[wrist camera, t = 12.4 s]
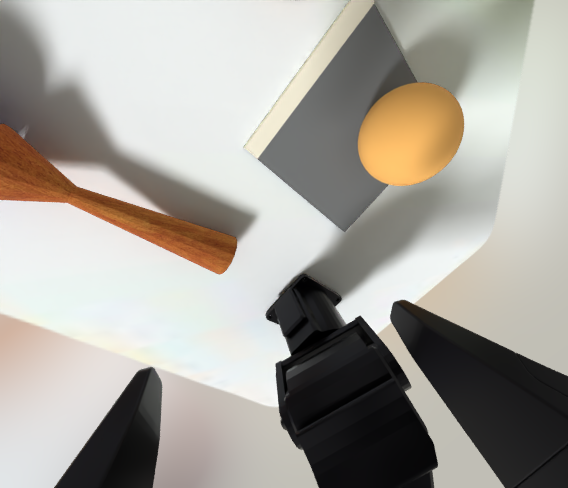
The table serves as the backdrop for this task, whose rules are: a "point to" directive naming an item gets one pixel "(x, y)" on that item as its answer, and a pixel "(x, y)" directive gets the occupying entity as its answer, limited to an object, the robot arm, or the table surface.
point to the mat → (333, 114)
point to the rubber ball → (410, 134)
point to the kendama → (106, 206)
